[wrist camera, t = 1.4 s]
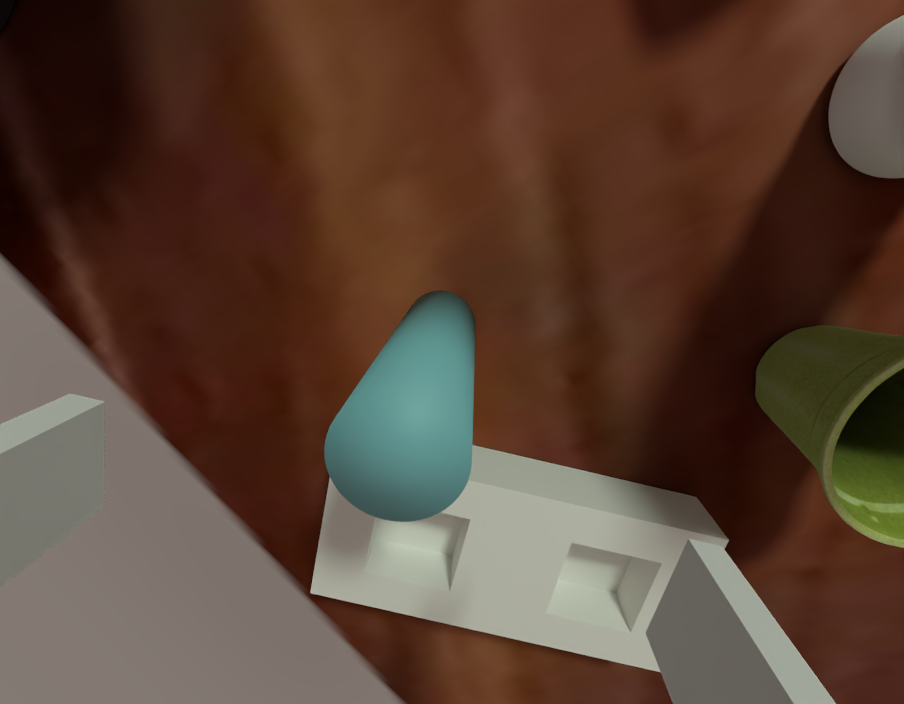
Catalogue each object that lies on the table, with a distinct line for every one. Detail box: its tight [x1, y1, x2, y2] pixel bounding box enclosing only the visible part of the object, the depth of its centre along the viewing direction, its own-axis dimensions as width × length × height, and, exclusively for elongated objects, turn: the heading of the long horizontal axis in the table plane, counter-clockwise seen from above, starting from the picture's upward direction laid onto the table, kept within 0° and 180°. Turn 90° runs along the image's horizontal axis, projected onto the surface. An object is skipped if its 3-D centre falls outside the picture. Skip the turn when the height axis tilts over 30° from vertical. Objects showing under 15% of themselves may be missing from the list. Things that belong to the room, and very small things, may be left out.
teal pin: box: [324, 291, 475, 522], centre depth 20 cm, size 4×4×15 cm
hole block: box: [310, 445, 729, 672], centre depth 29 cm, size 10×22×4 cm, turn 77°
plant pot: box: [755, 325, 904, 548], centre depth 22 cm, size 9×9×9 cm
